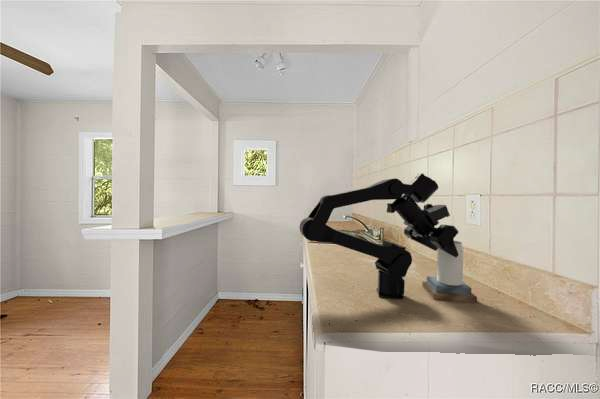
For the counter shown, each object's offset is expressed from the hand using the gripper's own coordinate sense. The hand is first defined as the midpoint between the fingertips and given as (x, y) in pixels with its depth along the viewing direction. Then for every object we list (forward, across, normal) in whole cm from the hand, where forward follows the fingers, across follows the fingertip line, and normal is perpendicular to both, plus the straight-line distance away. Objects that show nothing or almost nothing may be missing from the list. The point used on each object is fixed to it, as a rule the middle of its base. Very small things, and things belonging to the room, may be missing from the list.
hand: (446, 252), depth 79 cm
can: (+6, -1, +6) cm, 9 cm away
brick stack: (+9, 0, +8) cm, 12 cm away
